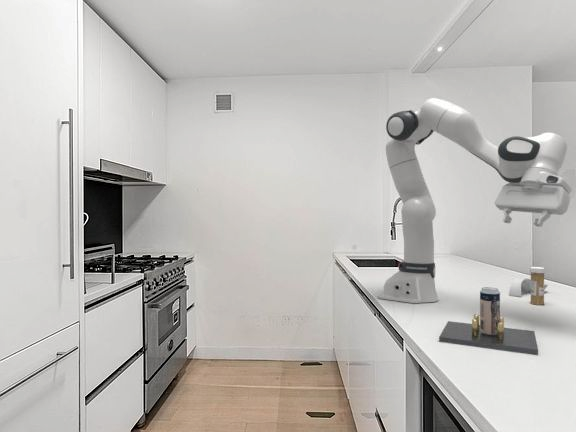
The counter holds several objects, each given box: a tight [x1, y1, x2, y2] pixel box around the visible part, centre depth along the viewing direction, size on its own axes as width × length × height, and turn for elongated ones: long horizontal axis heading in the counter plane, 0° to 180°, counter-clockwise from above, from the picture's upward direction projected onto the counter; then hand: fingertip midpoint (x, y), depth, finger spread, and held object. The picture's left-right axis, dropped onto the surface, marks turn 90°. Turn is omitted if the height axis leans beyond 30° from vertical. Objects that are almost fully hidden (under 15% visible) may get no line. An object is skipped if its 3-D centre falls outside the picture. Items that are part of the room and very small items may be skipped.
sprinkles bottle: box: [529, 266, 546, 306], centre depth 156 cm, size 5×5×14 cm
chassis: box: [438, 314, 539, 356], centre depth 113 cm, size 22×18×5 cm
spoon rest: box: [508, 277, 548, 298], centre depth 177 cm, size 24×12×7 cm, turn 132°
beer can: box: [479, 286, 501, 336], centre depth 112 cm, size 5×5×12 cm
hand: (521, 224), depth 126 cm, fingers open, 8 cm apart
